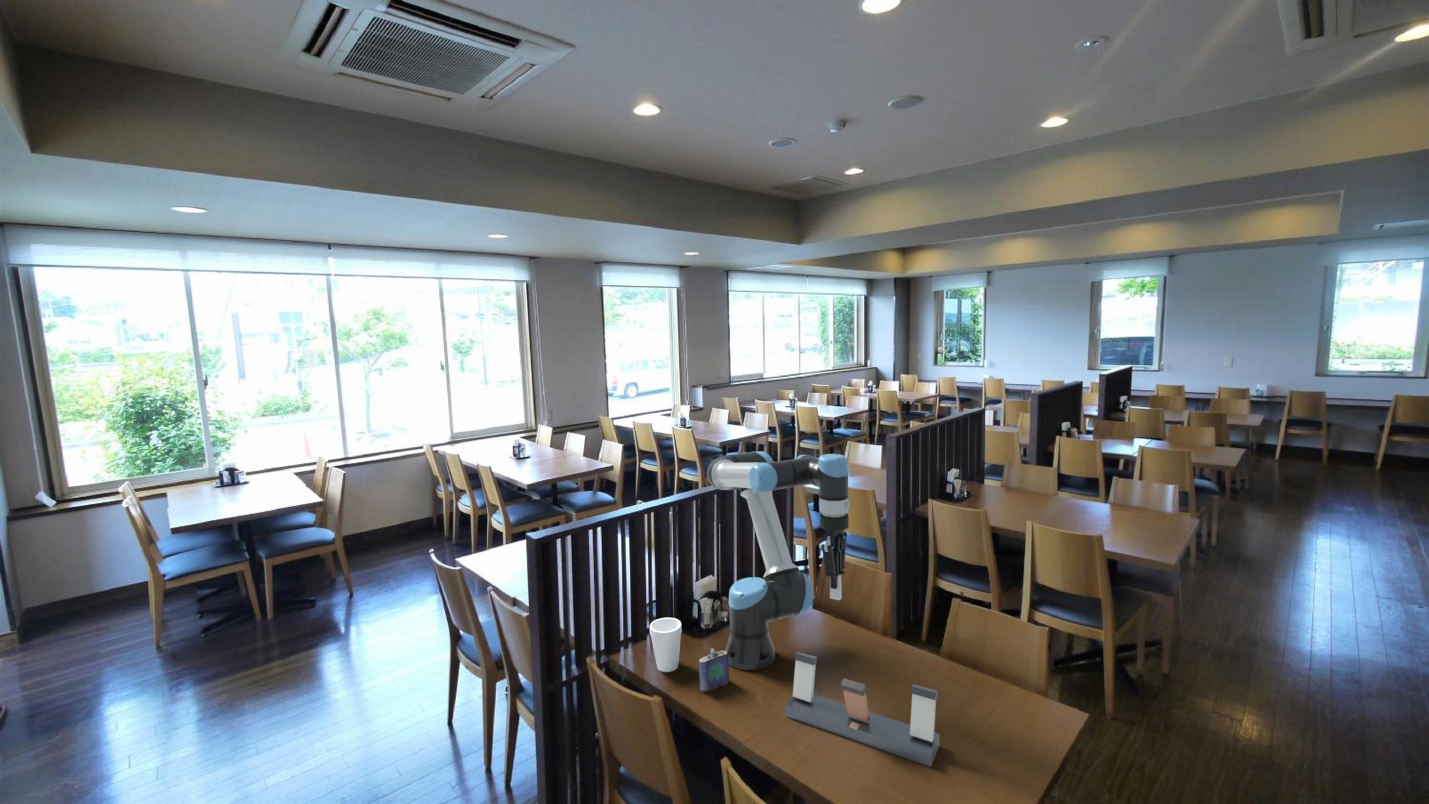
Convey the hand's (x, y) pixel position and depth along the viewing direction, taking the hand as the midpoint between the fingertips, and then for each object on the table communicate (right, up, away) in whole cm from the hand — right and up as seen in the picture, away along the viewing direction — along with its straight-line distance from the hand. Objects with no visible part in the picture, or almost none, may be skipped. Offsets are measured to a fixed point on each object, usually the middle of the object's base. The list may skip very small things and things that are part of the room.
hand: (835, 598), depth 159 cm
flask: (-33, -27, +8) cm, 43 cm away
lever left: (-10, -24, -6) cm, 27 cm away
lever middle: (+3, -24, -14) cm, 28 cm away
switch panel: (+3, -28, -14) cm, 31 cm away
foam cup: (-47, -27, +18) cm, 57 cm away
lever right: (+15, -25, -22) cm, 37 cm away
